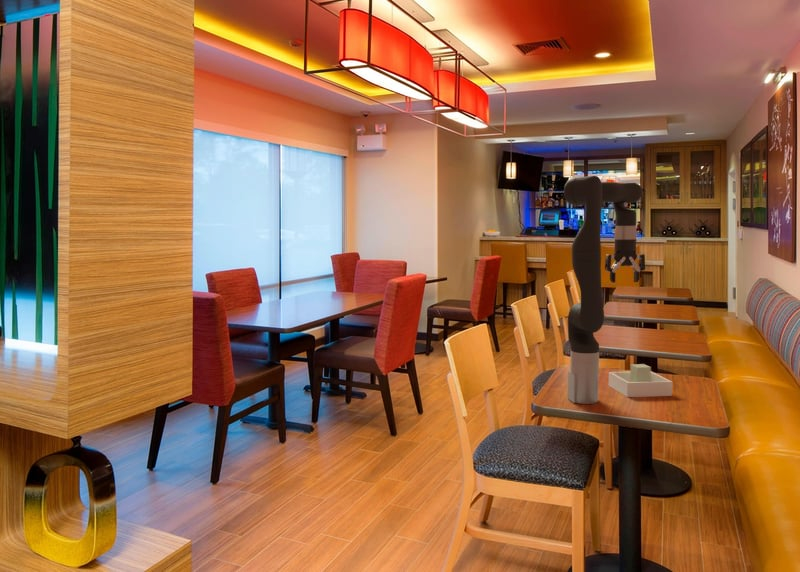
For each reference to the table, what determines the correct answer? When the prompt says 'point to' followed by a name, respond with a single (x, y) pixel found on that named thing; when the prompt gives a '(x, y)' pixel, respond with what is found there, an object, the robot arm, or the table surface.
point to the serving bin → (640, 385)
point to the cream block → (640, 373)
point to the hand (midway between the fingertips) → (624, 282)
